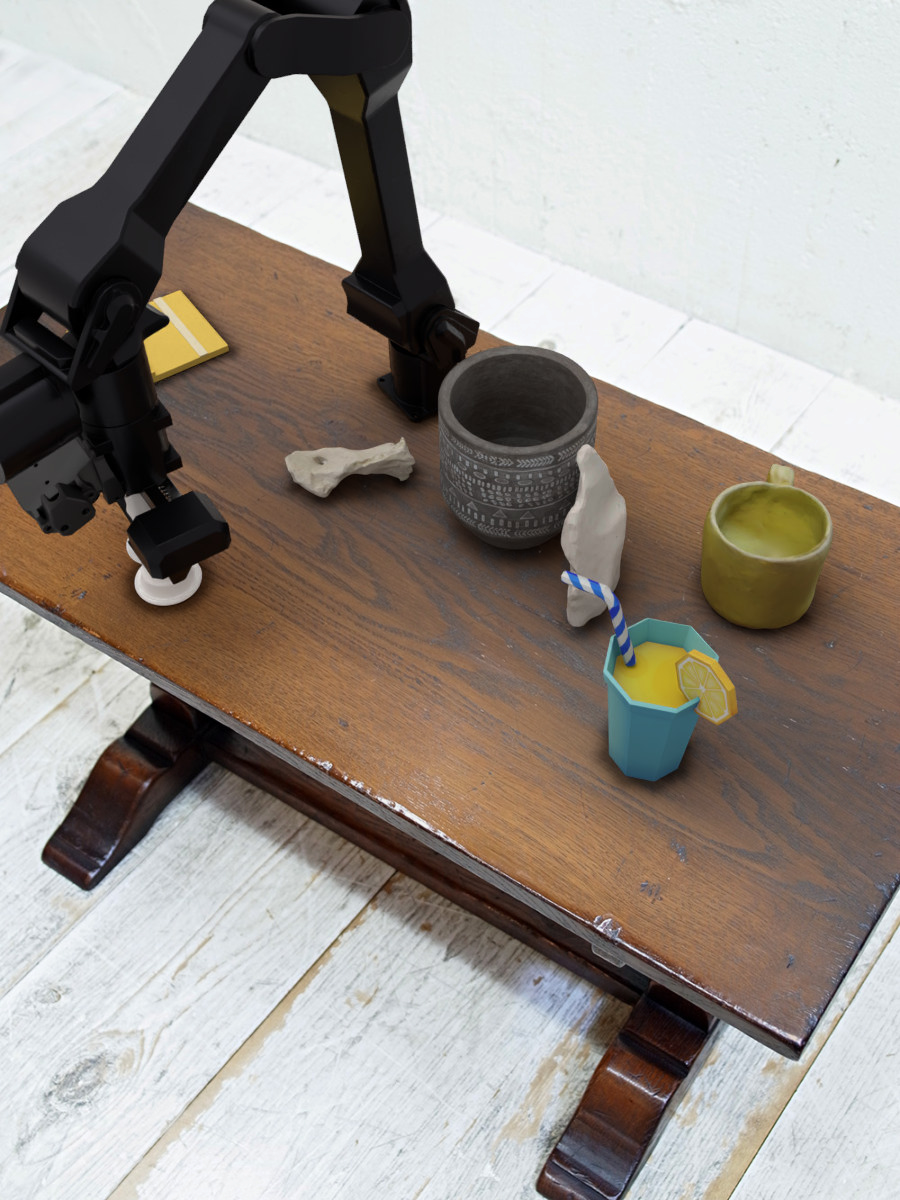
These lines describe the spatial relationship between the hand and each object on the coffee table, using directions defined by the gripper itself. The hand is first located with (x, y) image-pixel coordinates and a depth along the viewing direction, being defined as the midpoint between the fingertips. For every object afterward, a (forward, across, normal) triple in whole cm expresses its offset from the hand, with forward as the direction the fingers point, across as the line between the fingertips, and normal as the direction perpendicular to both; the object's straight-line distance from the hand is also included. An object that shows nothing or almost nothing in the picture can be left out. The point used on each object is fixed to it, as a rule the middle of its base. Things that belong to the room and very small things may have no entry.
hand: (157, 550), depth 100 cm
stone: (+4, +21, +28) cm, 35 cm away
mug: (+4, +26, +39) cm, 47 cm away
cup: (+4, +33, +21) cm, 39 cm away
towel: (+4, -27, +11) cm, 29 cm away
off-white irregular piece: (+4, -1, +18) cm, 19 cm away
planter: (+4, +10, +27) cm, 29 cm away
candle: (+4, 0, 0) cm, 4 cm away
